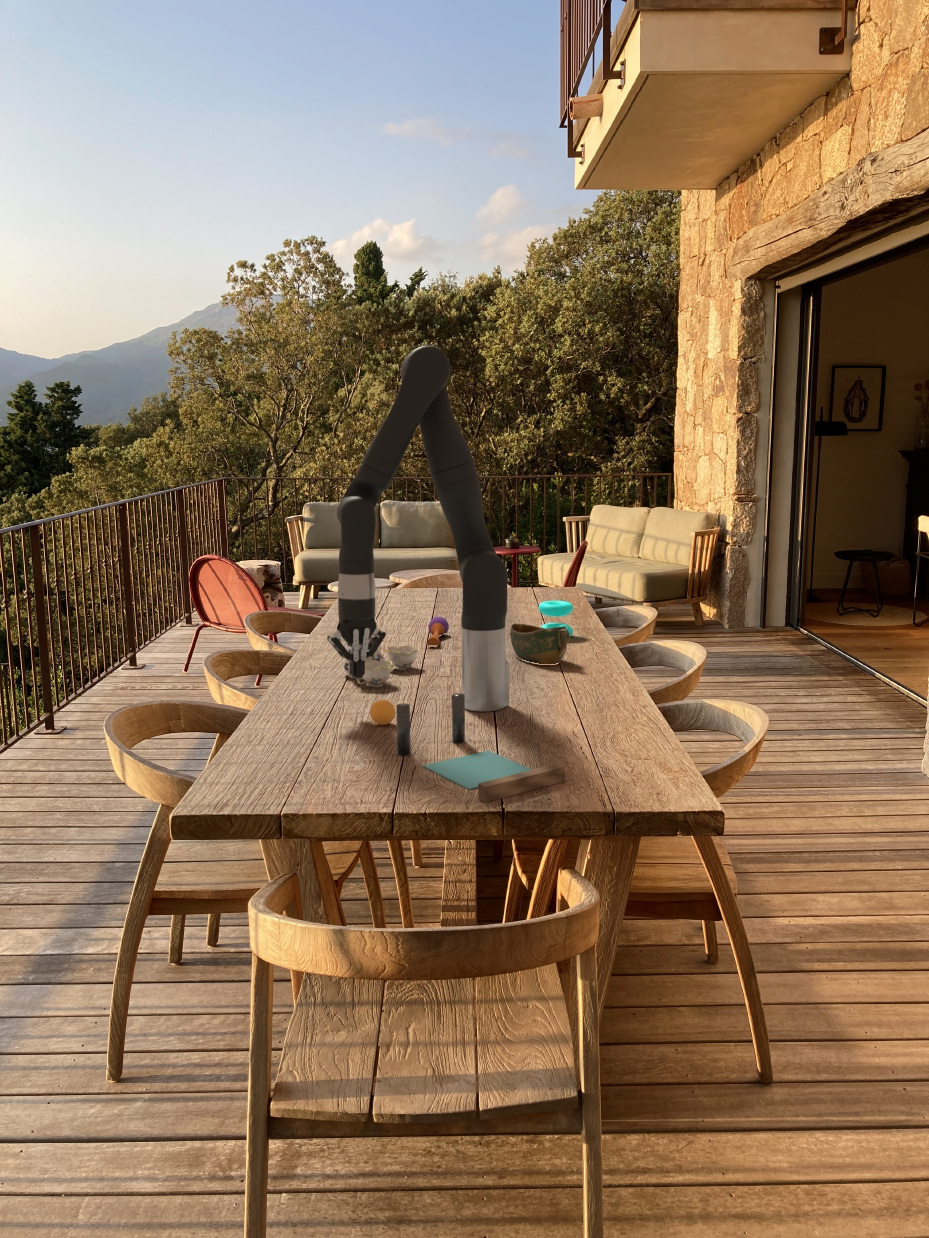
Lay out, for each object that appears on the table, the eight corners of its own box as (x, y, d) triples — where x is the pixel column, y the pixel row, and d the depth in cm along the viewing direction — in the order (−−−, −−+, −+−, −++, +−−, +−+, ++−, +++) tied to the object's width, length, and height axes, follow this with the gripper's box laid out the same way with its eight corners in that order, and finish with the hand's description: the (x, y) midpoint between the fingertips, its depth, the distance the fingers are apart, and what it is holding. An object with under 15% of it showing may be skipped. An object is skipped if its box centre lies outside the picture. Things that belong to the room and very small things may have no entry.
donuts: (579, 603, 270) (549, 606, 265) (579, 638, 271) (549, 641, 267) (561, 599, 278) (532, 601, 274) (561, 632, 280) (532, 635, 276)
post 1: (406, 750, 171) (405, 702, 170) (413, 753, 169) (412, 705, 168) (395, 752, 170) (393, 704, 168) (401, 756, 168) (400, 707, 166)
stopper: (556, 777, 156) (556, 763, 156) (564, 781, 155) (564, 766, 154) (478, 798, 147) (478, 783, 147) (485, 802, 146) (485, 787, 145)
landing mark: (488, 751, 170) (488, 750, 170) (536, 772, 159) (536, 771, 159) (422, 766, 162) (422, 765, 162) (469, 789, 151) (469, 788, 151)
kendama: (420, 634, 259) (427, 616, 278) (425, 655, 260) (431, 635, 280) (441, 630, 258) (447, 612, 277) (446, 651, 260) (451, 631, 279)
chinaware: (391, 699, 213) (397, 627, 210) (321, 688, 216) (326, 618, 213) (422, 670, 240) (427, 607, 237) (360, 661, 243) (364, 599, 240)
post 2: (460, 738, 178) (459, 692, 176) (467, 741, 176) (467, 695, 174) (449, 741, 176) (449, 694, 175) (456, 744, 174) (456, 697, 173)
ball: (387, 719, 191) (387, 695, 190) (400, 725, 187) (399, 701, 186) (366, 723, 188) (365, 699, 187) (378, 729, 184) (377, 705, 183)
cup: (521, 670, 232) (521, 630, 230) (507, 654, 251) (508, 617, 250) (572, 669, 233) (573, 629, 232) (555, 653, 253) (555, 616, 251)
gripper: (335, 600, 184) (336, 685, 187) (394, 594, 191) (394, 677, 194) (318, 595, 190) (320, 678, 193) (376, 590, 198) (376, 670, 201)
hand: (357, 677), depth 194 cm, fingers closed
